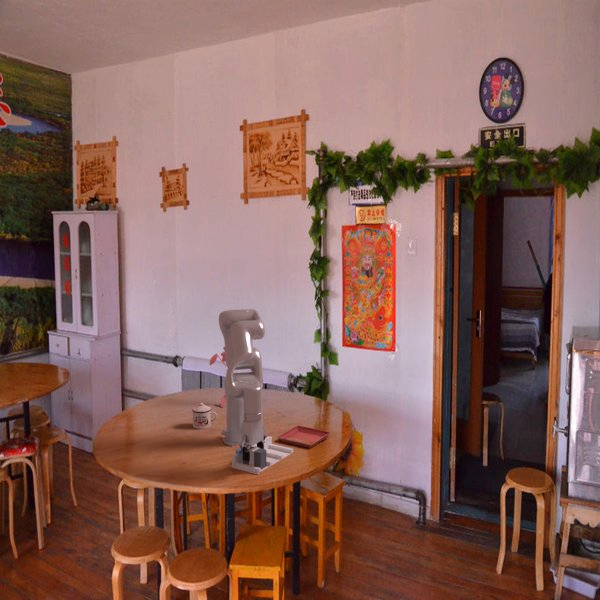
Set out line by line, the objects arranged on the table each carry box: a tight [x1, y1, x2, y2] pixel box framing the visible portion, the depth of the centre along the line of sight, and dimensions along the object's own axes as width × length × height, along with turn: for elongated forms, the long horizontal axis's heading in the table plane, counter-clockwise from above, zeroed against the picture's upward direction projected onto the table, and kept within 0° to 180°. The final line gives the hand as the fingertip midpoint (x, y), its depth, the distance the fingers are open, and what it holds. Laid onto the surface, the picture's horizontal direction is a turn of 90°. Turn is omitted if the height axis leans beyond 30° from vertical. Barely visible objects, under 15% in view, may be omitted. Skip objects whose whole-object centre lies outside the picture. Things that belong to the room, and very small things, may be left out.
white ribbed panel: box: [231, 435, 294, 475], centre depth 248 cm, size 13×26×6 cm, turn 148°
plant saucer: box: [277, 425, 331, 449], centre depth 271 cm, size 18×18×3 cm
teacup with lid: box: [191, 402, 218, 430], centre depth 289 cm, size 12×9×12 cm
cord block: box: [242, 446, 266, 469], centre depth 240 cm, size 9×4×7 cm, turn 59°
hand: (253, 456), depth 241 cm, fingers open, 9 cm apart
